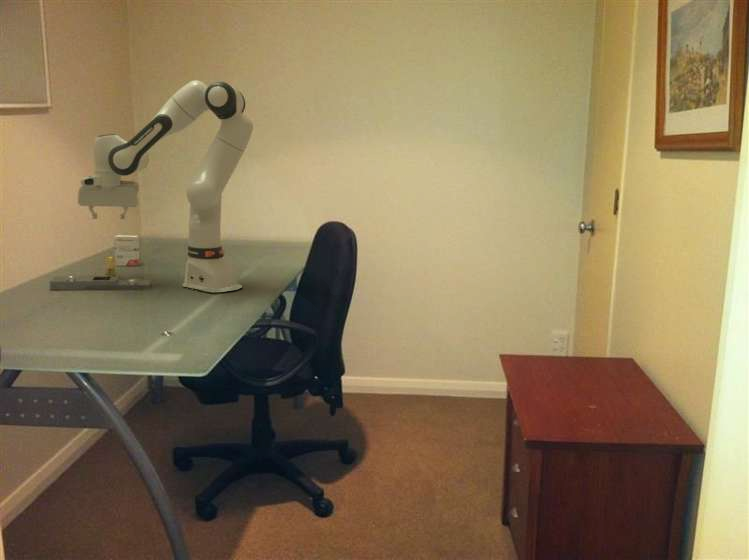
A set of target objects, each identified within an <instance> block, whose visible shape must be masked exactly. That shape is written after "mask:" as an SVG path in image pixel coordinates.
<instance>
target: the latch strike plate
mask: <svg viewBox="0 0 749 560" xmlns="http://www.w3.org/2000/svg"><path fill="white" fill-rule="evenodd" d="M151 285H152V280H151V279H137V278H128V279H119V275H117V276H106V275H80V276H79V275H78V276H77V275H75V274H68V275H65V276H64V275H63V276H59V275H58V276H53V277H52V279H51V280H50V281H49V288H50V289H49V290H50V291H87V290H88V291H93V290H94V291H95V290H98V291H99V290H103V291H105V290H112V291H113V290H150V289H151Z"/></svg>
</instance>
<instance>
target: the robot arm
mask: <svg viewBox="0 0 749 560" xmlns="http://www.w3.org/2000/svg"><path fill="white" fill-rule="evenodd" d="M245 109H246V99H245V97H244V96H243V94H242V92H241V91H239V90H238V88H236V87H235V86H233V85H231V84H229V83H228V82H225V81H217V82H214V83H213V82H212V83H211V84H210V85H209V86H208V85H207V84H205V82H203V81H201V80H197V79H194V80H191V81H190V82H187V83H186V84H184V85H183V86H182V87H180V89H178V90H177V91H176V92H175V93H174V94H172V96H171V97H170V98H168V100H167V101H166V102H165V103H164V104H163V106H162V107H161V108H160V109H159V110H158V112H157V113H156V114H155V116H154V117H153V118H152V119H151V120H150V121H149V123H147V124H146V125H145V126H144V127H143V128H142V129H140V131H139V132H138V133H136V135H134V136H133V137H132V138H131V139H130V140H128V141H127V140H125V139H123V138H122V137H120V135H118V134H115V133H109V134H108V133H107V134H101V135H98V136H96V138H95V140H94V144H93V160H94V164H95V166H94V173H93V175H90V176H87V177H82V179H81V180H80V184H81V186H80V187H79V189H78V194H77V204H78V205H79V206H80V207H88V210H89V212H90V213H91V214H92V215H91V216H92V219H94V220H95V219H98V213H97V212H95V211H94V208H95V207H116V208H117V207H119V208H123V210H124V211H123V213H120V220H126V214H127V212H128V210H129V208H136V207H137V206H138V205H139V197H138V193H139V191H140V186H139V184H138V183H137V182H136V181H134V180H122V176H130V175H132V174H133V173H138V172H141V171H142V170H145V168H146V167H147V165H148V164H149V155H148V153H147V152H148V151H149V150H150V149H152V148H153V147H154V146H155V145H156V144H157V143H158V142H159V141H161V140H162V139H164V138H166V137H168V136H171V135H173V134H176V133H179V132H181V131H183V130H185V129H187V128H188V127H190V125H192V124H194V123H195V121H196V120H197V119H199V117H200V116H201V115H202V114H204V113H205V112H207V111H211V112H212V113H213V114H214V115H215V116H216V117H217V118H218V119H219V120H220V121H221V124H220V126H219V128H218V131H217V133H216V134H215V136H214V138H213V141H212V142H211V144H210V146H209V148H208V150H207V151H206V153H205V155H204V158H203V159H202V161H201V163H200V164H199V166H198V167H197V169H196V171H195V173H194V175H193V177H192V179H191V181H190V182H189V184H188V186H187V188H186V199H187V201H188V203H189V219H188V245H187V250H186V251H187V256H188V259H187V261H186V264H185V272H184V282H183V283H182V285H181V286H183V287H189V288H197V289H204V288H205V289H207V288H212V289H217V288H225V287H230V286H234V285H236V283H237V275H236V271H235V268H232V266H231V265H230V263H229V262H228V261H227V260H226V259H225V257H224V256H225V255H224V254H225V253H224V252H225V251H226V250H224V249H223V246H222V244H221V219H222V194H223V192H224V190H225V188H226V186H227V185H228V182H229V181H230V179H231V177H232V176H233V174H234V171H235V170H236V168H237V166H238V164H239V163H240V160H241V159H242V156H243V155H244V152H245V151H246V148H247V146H249V142H250V139H251V136H252V133H253V130H254V126H253V122H252V120H251V119H250V118H249V117H247V116H246V115H244V111H245ZM183 287H182V288H183Z"/></svg>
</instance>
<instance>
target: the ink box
mask: <svg viewBox="0 0 749 560" xmlns="http://www.w3.org/2000/svg"><path fill="white" fill-rule="evenodd" d="M113 238H114V239H113V240H114V243H113V244H114V247H113V248H114V256H115V257H116V267H117V266H118V267H119V266H124V267H127V266H128V267H137V266H139V265H140V249H139V246H140V245H139V244H140V243H139V235H125V234H124V235H123V234H118V235H115V236H114V237H113Z"/></svg>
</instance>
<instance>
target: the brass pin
mask: <svg viewBox="0 0 749 560" xmlns="http://www.w3.org/2000/svg"><path fill="white" fill-rule="evenodd" d="M105 276H118V275H117V266H116V257H115V255H110V256H108V255H107V256H105Z"/></svg>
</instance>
